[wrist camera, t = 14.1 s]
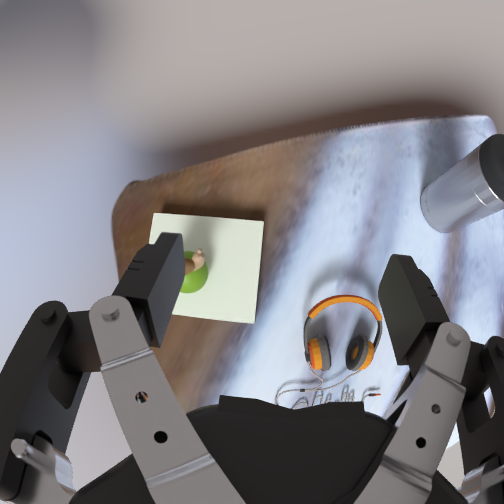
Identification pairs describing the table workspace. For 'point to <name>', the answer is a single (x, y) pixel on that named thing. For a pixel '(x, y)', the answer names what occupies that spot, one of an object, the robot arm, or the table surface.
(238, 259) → the sage board
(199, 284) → the snail figurine
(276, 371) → the table surface
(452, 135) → the table surface
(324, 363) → the headphones
